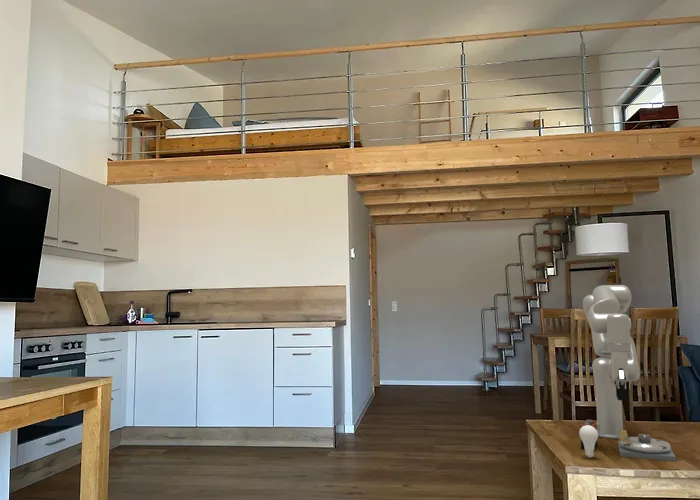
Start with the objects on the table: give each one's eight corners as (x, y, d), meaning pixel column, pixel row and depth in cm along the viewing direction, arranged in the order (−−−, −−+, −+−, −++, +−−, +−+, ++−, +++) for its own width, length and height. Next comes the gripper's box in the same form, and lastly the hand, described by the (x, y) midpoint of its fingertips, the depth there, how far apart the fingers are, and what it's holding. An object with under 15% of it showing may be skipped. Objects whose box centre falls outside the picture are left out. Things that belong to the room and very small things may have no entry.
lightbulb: (597, 461, 187) (596, 427, 188) (578, 458, 190) (577, 425, 191) (600, 456, 192) (598, 424, 193) (581, 454, 195) (580, 422, 196)
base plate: (620, 456, 193) (620, 451, 193) (618, 445, 209) (617, 440, 209) (675, 461, 186) (675, 456, 186) (669, 449, 202) (668, 445, 202)
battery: (598, 447, 205) (596, 420, 206) (593, 451, 200) (591, 423, 201) (585, 445, 208) (584, 418, 209) (580, 449, 202) (579, 421, 204)
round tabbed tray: (667, 444, 202) (666, 429, 202) (673, 455, 187) (672, 438, 188) (618, 440, 208) (617, 425, 209) (621, 450, 194) (620, 434, 194)
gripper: (607, 346, 208) (609, 394, 206) (608, 349, 192) (611, 401, 190) (629, 347, 205) (631, 395, 203) (632, 350, 189) (635, 403, 187)
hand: (621, 398), depth 196 cm, fingers open, 6 cm apart
